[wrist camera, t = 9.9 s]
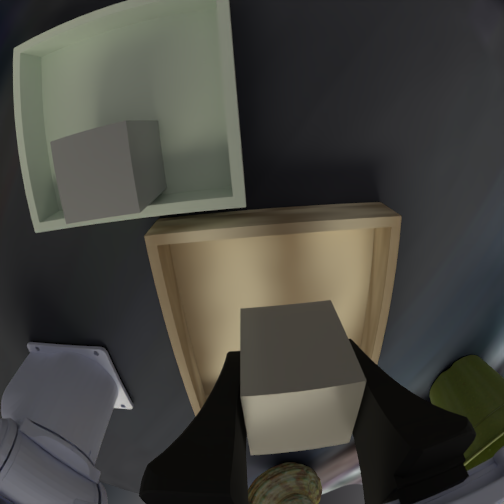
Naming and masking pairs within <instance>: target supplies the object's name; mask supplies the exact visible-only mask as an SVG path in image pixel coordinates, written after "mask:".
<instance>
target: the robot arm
mask: <svg viewBox="0 0 504 504" xmlns="http://www.w3.org/2000/svg"><path fill="white" fill-rule="evenodd" d="M349 341H350V343H351V346H352V348H353V350H354V353H355V355H356V357H357V359H358V362H359V364H360V366H361V369H362V371H363V373H364V376H365V378H366V385H365V389H364V393H363V397H362V400H361V404H360V408H359V411H358V415H357V418H356V422H355V425H354V428H353V432H352V433H353V437H354V440H355V445H356V450H357V454H358V459H359V465H360V470H361V477H362V483H363V490H364V499H365V504H501V503H502V502H504V446H503V447H502V448H500V449H499V450H498V451H497V452H496V453H495V455H494V456H493V457H492V458H490V459H488V460H487V461H485V462H483V463H481V464H479V465H478V466H476V467H474V468H472V469H470V470H468V471H467V470H466V468H465V466H464V464H463V463H464V462H465V461H466V459H465V457H464V455H463V454H464V453H465V451H466V450H467V449H468V448H469V446H470V445H471V444H472V443H473V441H474V440H475V437H476V432H475V430H474V428H473V426H472V424H471V423H470V421H469V420H468V418H467V417H465V416H462V415H459V414H456V413H453V412H450V411H447V410H445V409H442V408H440V407H438V406H435V405H433V404H431V403H429V402H427V401H426V400H424V399H422V398H420V397H418V396H417V395H415V394H413V393H412V392H410V391H409V390H407V389H406V388H404V387H403V386H401V385H400V384H399V383H397V382H396V381H395V380H394V379H392V378H391V377H390V376H389V375H388V374H386V373H385V372H384V371H383V370H382V369H381V368H380V367H379V366H378V365H377V364H375V363H374V362H373V361H372V360H371V359H370V358H369V357H368V356H367V355H366V354H365V353H364V352H363V351H362V350H361V349H360V348H359V346H358V345H357V344H356V343H355V342H354V341H353V340H352V339H349ZM27 347H28V349H29V351H30V353H29V355H28V356H27V358H26V359H25V360H24V362H23V363H22V365H21V366H20V368H19V369H18V371H17V372H16V374H15V375H14V377H13V378H12V380H11V381H10V383H9V384H8V386H7V387H6V389H5V391H4V393H3V396H2V401H1V414H2V418H1V419H0V495H2V496H3V497H5V498H6V499H8V500H9V501H11V502H12V503H14V504H108V501H107V494H106V490H105V488H104V486H103V485H102V484H101V483H100V482H99V477H100V474H101V472H100V471H99V470H97V469H96V468H95V467H94V465H95V462H96V459H97V456H98V452H99V449H100V446H101V443H102V440H103V437H104V434H105V431H106V428H107V425H108V422H109V419H110V417H111V414H112V411H113V408H121V409H132V408H133V403H132V401H131V399H130V397H129V395H128V393H127V392H126V390H125V388H124V386H123V384H122V382H121V380H120V378H119V375H118V373H117V371H116V369H115V367H114V365H113V363H112V361H111V358H110V356H109V354H108V352H107V350H106V349H105V348H103V347H96V346H76V345H61V344H48V343H37V342H29V343H28V344H27ZM97 352H98V353H97ZM246 437H247V431H246V426H245V420H244V414H243V409H242V403H241V397H240V351H229V352H228V353H227V355H226V359H225V362H224V365H223V368H222V370H221V372H220V375H219V377H218V379H217V381H216V383H215V385H214V387H213V389H212V391H211V393H210V395H209V396H208V398H207V400H206V402H205V403H204V405H203V407H202V408H201V410H200V411H199V413H198V414H197V415H196V417H195V418H194V419H193V421H192V422H191V423H190V424H189V426H188V427H187V428H186V429H185V431H184V432H183V433H182V434H181V435H180V436H179V437H178V438H177V439H176V440H175V441H174V442H173V443H172V444H171V445H170V446H169V447H168V448H167V449H166V450H165V451H164V452H163V453H161V454H160V455H159V456H158V457H156V458H155V459H154V460H153V461H151V462H150V463H149V464H148V465H147V467H146V470H145V472H144V475H143V478H142V481H141V487H140V493H139V496H140V497H141V499H142V500H143V501H144V502H145V503H146V504H249V501H248V485H247V466H246ZM2 496H0V504H12V503H11V502H9V501H8V500H6V499H5V498H3V497H2Z"/></svg>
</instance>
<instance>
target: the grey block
mask: <svg viewBox="0 0 504 504" xmlns="http://www.w3.org/2000/svg"><path fill="white" fill-rule="evenodd" d="M50 144H51V151H52V158H53V164H54V170H55V175H56V180H57V186H58V190H59V195H60V200H61V204H62V209H63V213H64V217H65V221H66V224H70V223H76V222H82V221H88V220H94V219H101V218H107V217H114V216H121V215H128V214H135V213H141V212H142V211H143V210H144V209H145V208H146V207H147V206H148V205H149V204H150V203H151V202H152V201H153V200H155V199H156V198H157V197H158V196H159V195H160V194H161V193H162V192H163V191H164V190H166V189H167V184H166V177H165V171H164V164H163V156H162V149H161V141H160V133H159V124H158V120H125V121H121V122H117V123H113V124H109V125H105V126H101V127H97V128H94V129H90V130H86V131H83V132H80V133H76V134H73V135H70V136H66V137H63V138H60V139H57V140H54V141H51V142H50Z"/></svg>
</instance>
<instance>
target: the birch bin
mask: <svg viewBox="0 0 504 504" xmlns="http://www.w3.org/2000/svg"><path fill="white" fill-rule="evenodd" d="M400 227H401V215H399V214H398V213H396V212H395V211H393V210H392V209H390V208H389V207H387V206H386V205H384V204H383V203H381V202H369V203H347V204H328V205H311V206H295V207H281V208H267V209H254V210H242V211H231V212H219V213H209V214H199V215H189V216H179V217H170V218H161V219H158V220H157V221H156V222H155V223H154V225H153V226H152V227H151V228H150V229H149V231H148V232H147V233H146V234H145V236H144V237H145V242H146V247H147V251H148V256H149V260H150V265H151V269H152V273H153V277H154V282H155V286H156V290H157V294H158V297H159V301H160V305H161V309H162V313H163V316H164V320H165V324H166V327H167V331H168V334H169V337H170V341H171V344H172V348H173V351H174V354H175V357H176V361H177V364H178V367H179V370H180V373H181V376H182V379H183V382H184V385H185V388H186V391H187V394H188V397H189V400H190V402H191V405H192V408H193V411H194V413H195V416H196V415H197V414H198V413H199V411H200V410H201V408H202V407H203V405H204V403H205V402H206V400H207V398H208V396H209V395H210V393H211V391H212V389H213V387H214V385H215V383H216V381H217V379H218V377H219V375H220V372H221V370H222V368H223V365H224V362H225V359H226V355H227V353H228V352H229V351H240V309H241V308H254V307H266V306H277V305H288V304H298V303H307V302H317V301H326V300H331V302H332V304H333V306H334V308H335V310H336V312H337V315H338V317H339V319H340V321H341V323H342V326H343V328H344V330H345V332H346V335H347V337H348V339H352V340H353V341H354V342H355V343H356V344H357V345H358V346H359V348H360V349H361V350H362V351H363V352H364V353H365V354H366V355H367V356H368V357H369V358H370V359H371V360H372V361H373V362H374V363H375V364H378V360H379V355H380V351H381V347H382V342H383V338H384V333H385V328H386V324H387V318H388V313H389V308H390V302H391V296H392V290H393V284H394V278H395V271H396V263H397V255H398V247H399V238H400Z"/></svg>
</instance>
